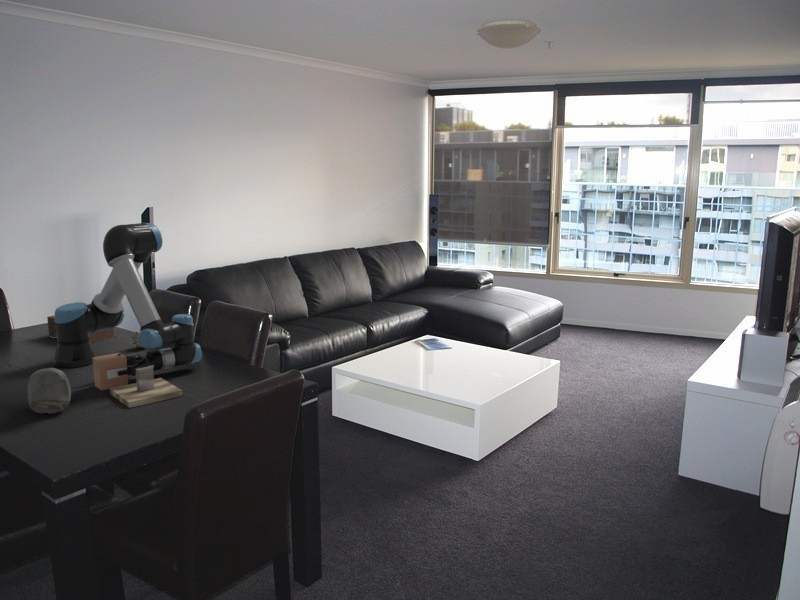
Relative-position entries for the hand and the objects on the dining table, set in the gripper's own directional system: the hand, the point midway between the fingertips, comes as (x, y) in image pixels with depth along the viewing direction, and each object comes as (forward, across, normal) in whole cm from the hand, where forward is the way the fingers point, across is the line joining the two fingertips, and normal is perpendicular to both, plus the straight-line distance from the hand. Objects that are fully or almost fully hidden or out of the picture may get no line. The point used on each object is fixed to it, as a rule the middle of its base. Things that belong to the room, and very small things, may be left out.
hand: (100, 370), depth 232 cm
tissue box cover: (-17, +79, -7) cm, 81 cm away
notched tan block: (-3, 0, -6) cm, 7 cm away
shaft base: (-9, -18, -6) cm, 21 cm away
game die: (-31, +42, -6) cm, 53 cm away
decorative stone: (+19, -12, -6) cm, 24 cm away
